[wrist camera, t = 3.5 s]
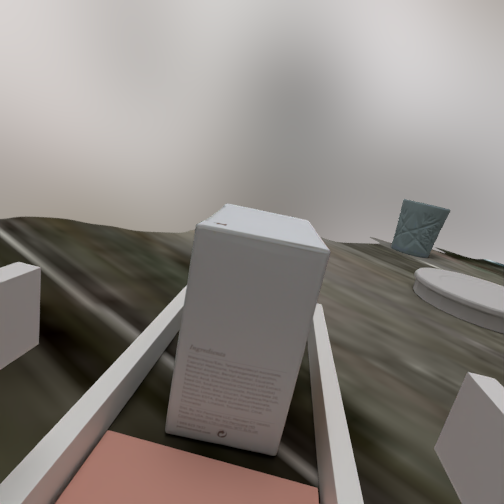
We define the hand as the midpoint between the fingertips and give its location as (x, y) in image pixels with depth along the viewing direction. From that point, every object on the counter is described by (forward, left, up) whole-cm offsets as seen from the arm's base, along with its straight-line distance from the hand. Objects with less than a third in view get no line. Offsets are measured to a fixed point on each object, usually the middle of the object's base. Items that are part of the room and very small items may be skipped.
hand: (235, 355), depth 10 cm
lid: (+30, +39, -8) cm, 49 cm away
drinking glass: (+33, +73, -8) cm, 80 cm away
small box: (0, +8, -8) cm, 11 cm away
